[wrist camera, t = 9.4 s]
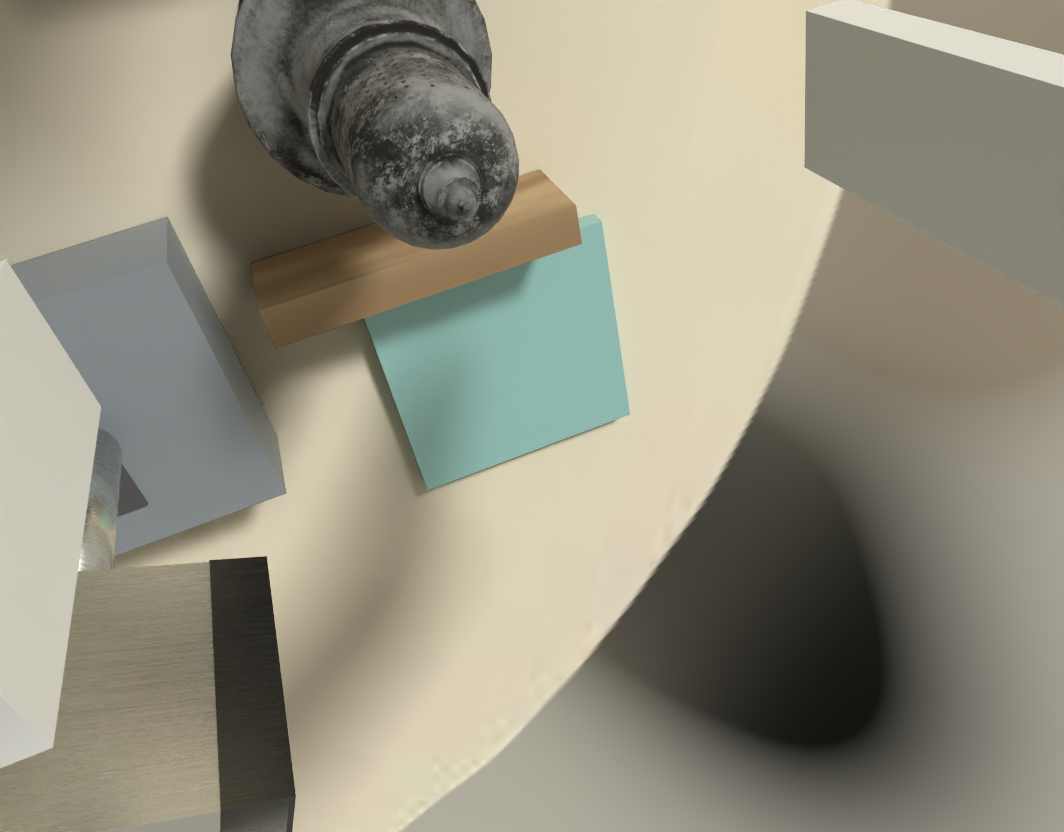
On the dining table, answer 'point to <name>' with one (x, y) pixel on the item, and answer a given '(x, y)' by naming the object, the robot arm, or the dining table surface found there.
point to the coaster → (506, 361)
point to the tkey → (160, 697)
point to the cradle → (403, 265)
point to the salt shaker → (381, 109)
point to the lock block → (158, 380)
